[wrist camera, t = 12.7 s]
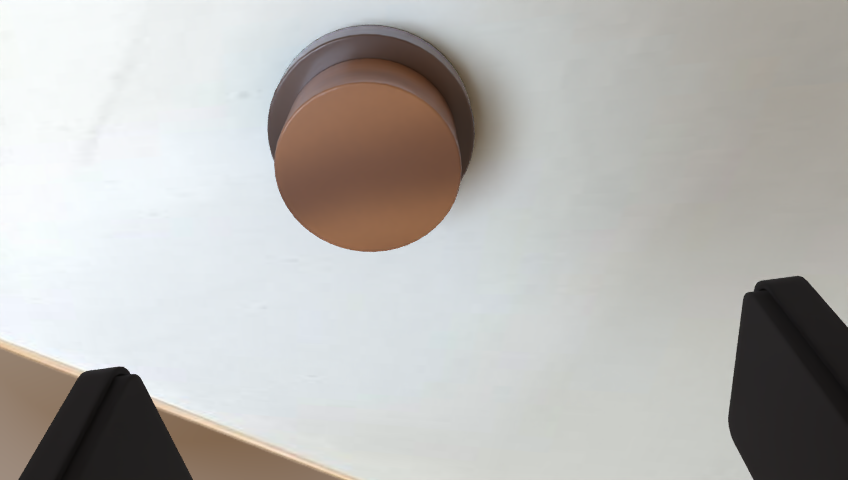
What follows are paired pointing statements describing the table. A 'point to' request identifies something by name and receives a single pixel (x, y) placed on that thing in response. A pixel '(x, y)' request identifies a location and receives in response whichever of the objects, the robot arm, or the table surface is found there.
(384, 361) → the table surface
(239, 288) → the table surface
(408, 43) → the walnut chip
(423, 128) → the brown short cylinder
